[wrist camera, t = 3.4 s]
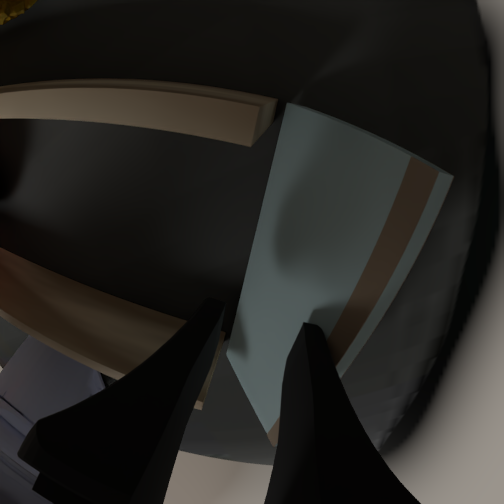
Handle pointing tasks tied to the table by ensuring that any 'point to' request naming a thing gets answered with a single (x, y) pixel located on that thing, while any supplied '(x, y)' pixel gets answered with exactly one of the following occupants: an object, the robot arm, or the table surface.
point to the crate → (82, 296)
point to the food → (13, 9)
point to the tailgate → (328, 247)
